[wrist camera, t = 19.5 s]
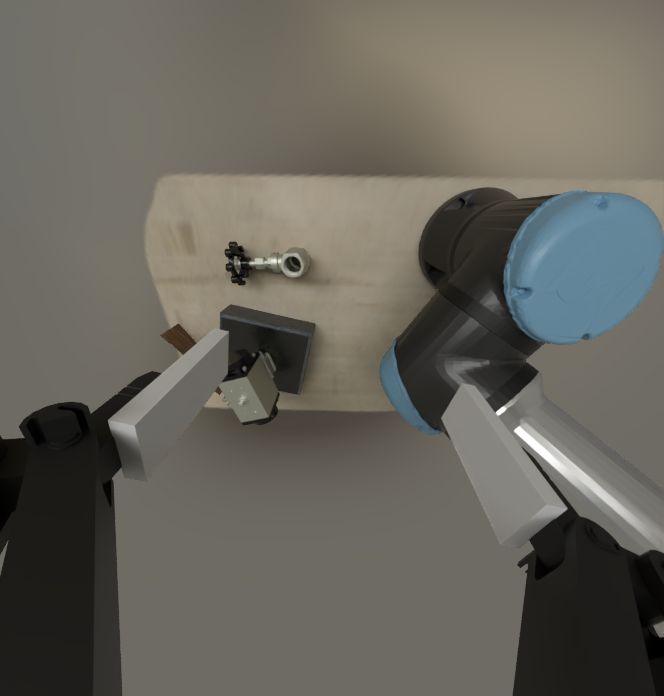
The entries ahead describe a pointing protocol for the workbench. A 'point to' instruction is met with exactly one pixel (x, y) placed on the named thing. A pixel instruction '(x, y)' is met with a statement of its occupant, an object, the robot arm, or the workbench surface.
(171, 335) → the wood plank
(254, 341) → the stand
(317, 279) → the workbench surface
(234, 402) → the pneumatic valve
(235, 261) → the valve
